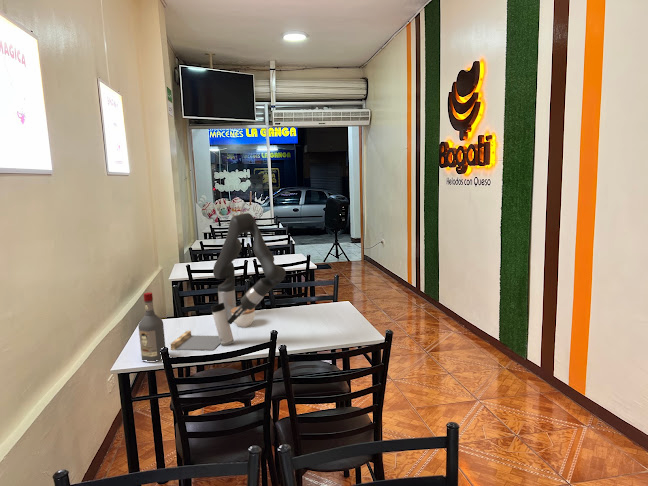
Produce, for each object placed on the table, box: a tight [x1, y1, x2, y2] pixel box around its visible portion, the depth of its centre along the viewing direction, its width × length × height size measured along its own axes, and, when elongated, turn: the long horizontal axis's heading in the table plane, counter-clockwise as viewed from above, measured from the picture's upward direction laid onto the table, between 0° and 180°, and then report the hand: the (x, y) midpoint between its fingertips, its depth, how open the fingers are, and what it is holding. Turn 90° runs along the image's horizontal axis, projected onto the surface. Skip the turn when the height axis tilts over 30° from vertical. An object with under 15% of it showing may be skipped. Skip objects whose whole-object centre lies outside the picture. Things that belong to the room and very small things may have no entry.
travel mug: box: [210, 303, 235, 346], centre depth 211 cm, size 6×7×20 cm
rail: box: [170, 330, 192, 351], centre depth 216 cm, size 18×2×3 cm, turn 172°
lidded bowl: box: [231, 306, 256, 328], centre depth 239 cm, size 13×13×11 cm
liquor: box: [137, 292, 166, 361], centre depth 196 cm, size 9×9×30 cm
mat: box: [174, 334, 221, 352], centre depth 215 cm, size 18×19×1 cm
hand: (229, 322), depth 210 cm, fingers closed
